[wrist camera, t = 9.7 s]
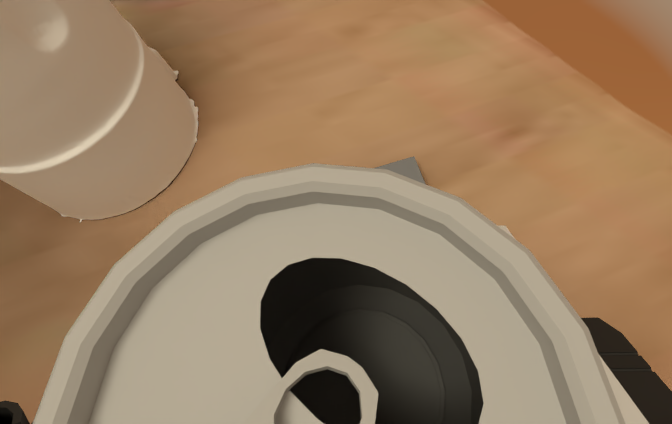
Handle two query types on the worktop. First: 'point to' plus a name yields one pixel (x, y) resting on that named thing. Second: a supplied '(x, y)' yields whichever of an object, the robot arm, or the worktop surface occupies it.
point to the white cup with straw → (87, 109)
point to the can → (328, 316)
